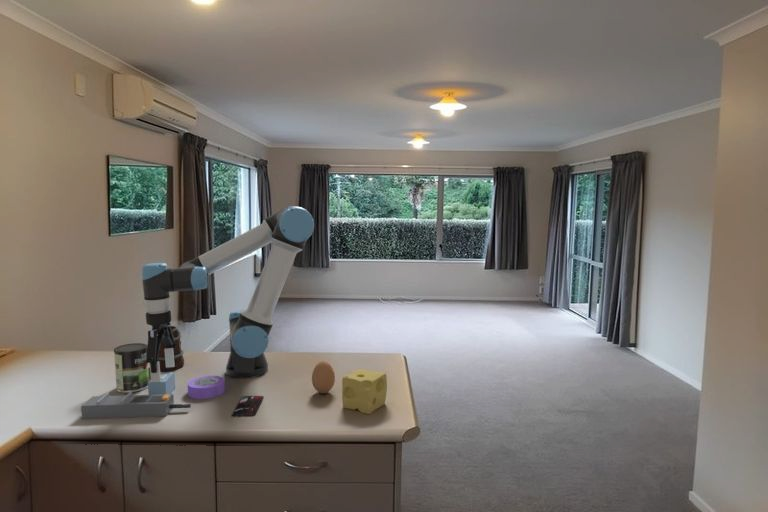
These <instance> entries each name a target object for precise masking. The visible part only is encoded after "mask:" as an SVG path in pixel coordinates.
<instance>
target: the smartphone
mask: <svg viewBox="0 0 768 512" xmlns="http://www.w3.org/2000/svg"><path fill="white" fill-rule="evenodd" d="M264 398H265V397H264V396H263V395H243V396H241V397H240V399H239V401H238V403H237V404H236V406H235V408H234V410H233V412H232V413H231V417H232V416H233V418H236V417H239V418H241V417H246V418H247V417H249V418H250V417H255V416H256V415H257V413H258V411H259V409H260V406H261V405H262V403H263V401H264Z"/></svg>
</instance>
